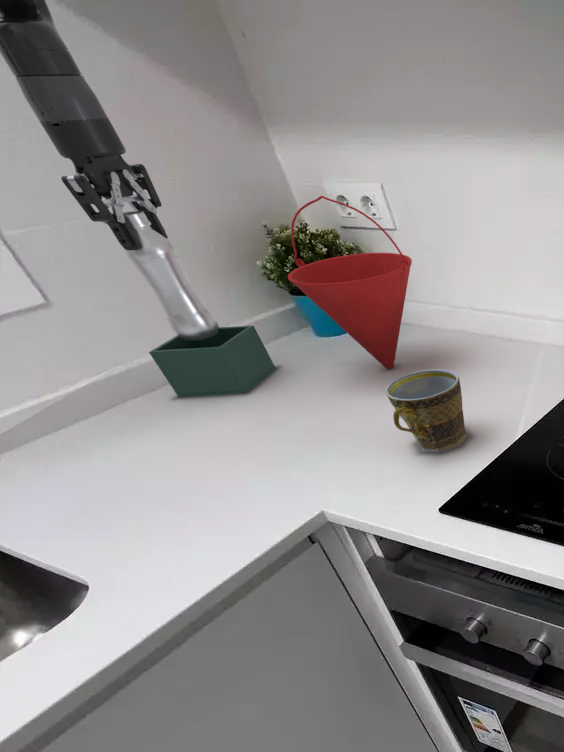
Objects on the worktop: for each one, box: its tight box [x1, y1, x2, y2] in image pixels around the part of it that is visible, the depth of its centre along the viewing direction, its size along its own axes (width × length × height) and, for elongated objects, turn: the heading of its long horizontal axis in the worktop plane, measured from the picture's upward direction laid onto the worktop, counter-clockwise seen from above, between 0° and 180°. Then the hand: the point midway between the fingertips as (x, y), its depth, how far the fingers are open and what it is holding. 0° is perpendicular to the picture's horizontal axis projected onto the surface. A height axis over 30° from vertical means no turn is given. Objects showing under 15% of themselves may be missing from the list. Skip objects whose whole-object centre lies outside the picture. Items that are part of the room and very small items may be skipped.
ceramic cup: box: [385, 368, 467, 454], centre depth 81 cm, size 13×10×10 cm
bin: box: [148, 325, 277, 398], centre depth 101 cm, size 12×11×9 cm
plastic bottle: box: [123, 210, 220, 341], centre depth 92 cm, size 6×7×20 cm
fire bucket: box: [287, 195, 413, 370], centre depth 98 cm, size 22×20×30 cm
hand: (147, 244), depth 89 cm, fingers closed on plastic bottle, 6 cm apart
